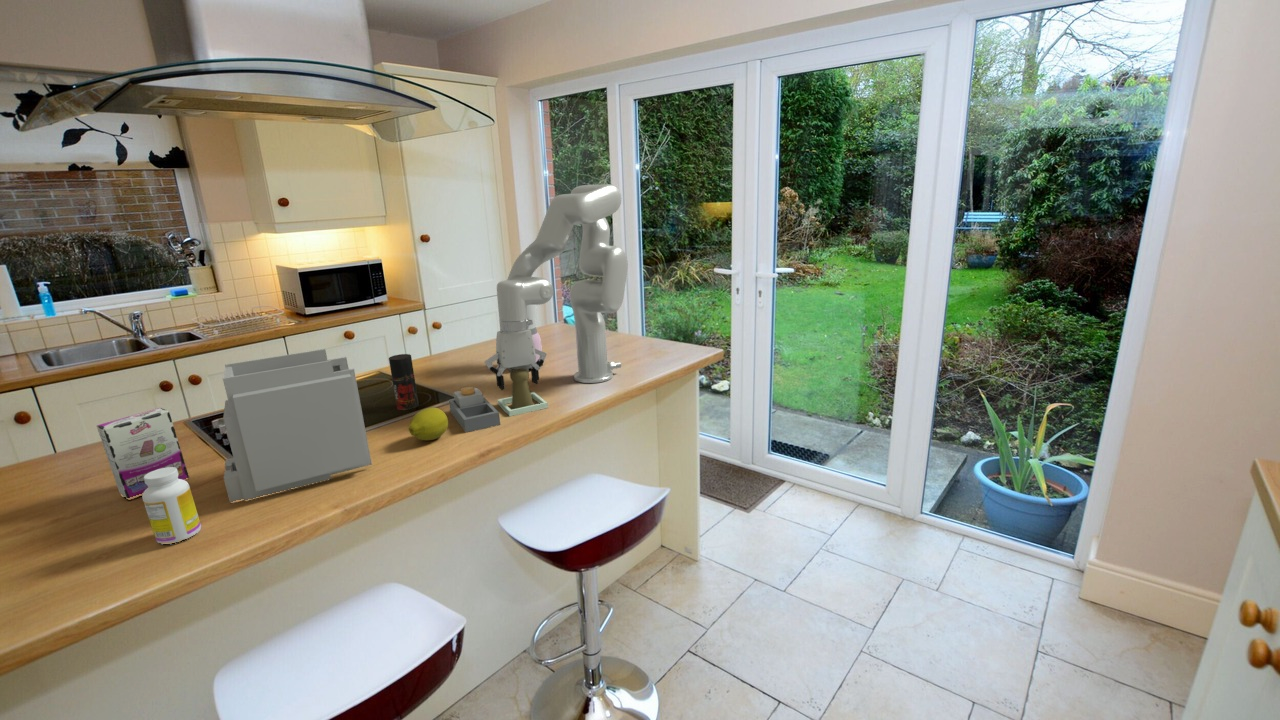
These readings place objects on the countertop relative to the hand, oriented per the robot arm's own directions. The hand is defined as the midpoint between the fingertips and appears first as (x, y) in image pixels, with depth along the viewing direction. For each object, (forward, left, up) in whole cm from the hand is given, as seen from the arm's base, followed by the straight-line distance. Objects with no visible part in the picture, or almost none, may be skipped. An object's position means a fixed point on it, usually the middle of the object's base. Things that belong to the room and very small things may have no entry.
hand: (518, 385), depth 162 cm
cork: (-1, 0, -7) cm, 7 cm away
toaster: (+53, +13, -7) cm, 55 cm away
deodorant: (+27, -20, -7) cm, 35 cm away
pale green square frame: (-1, 0, -6) cm, 6 cm away
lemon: (+26, +9, -7) cm, 28 cm away
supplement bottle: (+74, +28, -7) cm, 80 cm away
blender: (-16, -38, -7) cm, 42 cm away
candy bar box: (+82, +1, -7) cm, 83 cm away
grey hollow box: (+13, +1, -6) cm, 15 cm away
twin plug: (+13, -3, -6) cm, 15 cm away
